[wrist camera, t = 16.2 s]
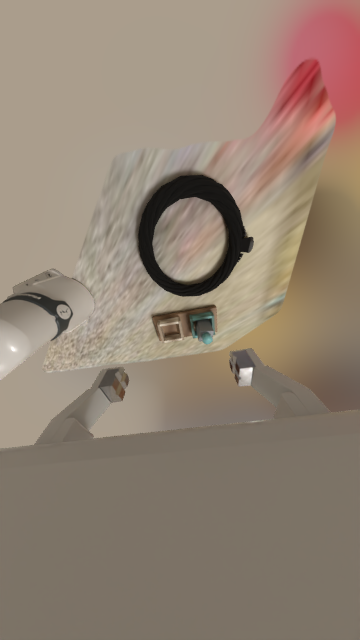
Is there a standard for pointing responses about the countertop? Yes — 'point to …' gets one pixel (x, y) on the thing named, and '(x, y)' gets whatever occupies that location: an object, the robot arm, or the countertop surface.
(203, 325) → the knob
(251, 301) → the countertop surface
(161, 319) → the brown divided tray
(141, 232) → the cable lock
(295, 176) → the countertop surface
